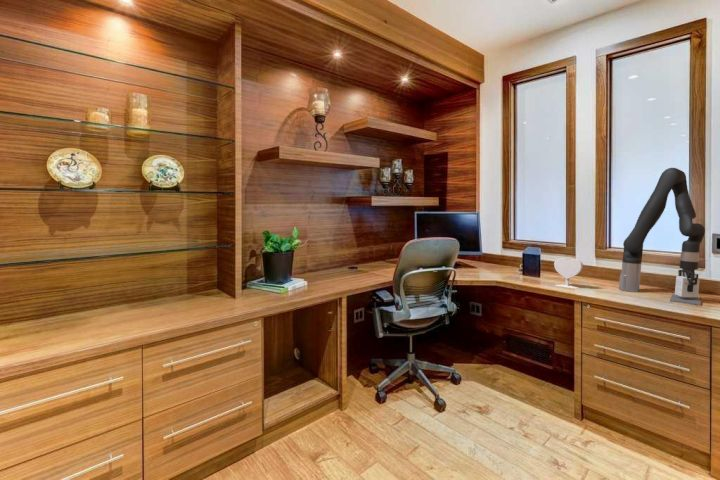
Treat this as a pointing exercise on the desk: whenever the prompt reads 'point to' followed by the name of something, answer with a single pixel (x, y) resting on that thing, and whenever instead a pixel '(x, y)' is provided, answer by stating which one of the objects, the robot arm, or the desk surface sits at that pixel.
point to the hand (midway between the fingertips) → (686, 290)
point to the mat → (686, 300)
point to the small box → (685, 287)
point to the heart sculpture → (568, 269)
